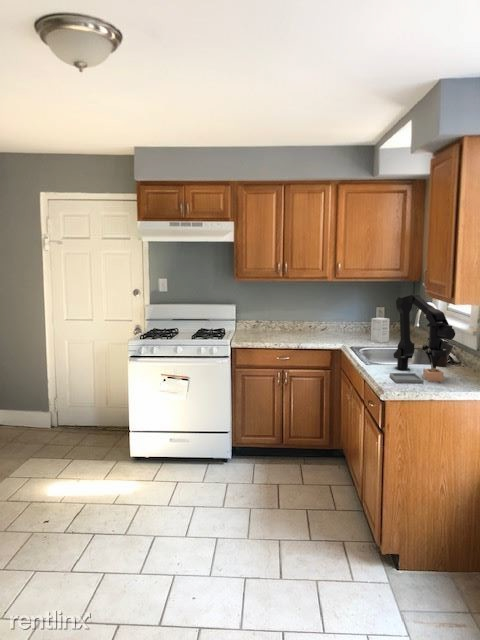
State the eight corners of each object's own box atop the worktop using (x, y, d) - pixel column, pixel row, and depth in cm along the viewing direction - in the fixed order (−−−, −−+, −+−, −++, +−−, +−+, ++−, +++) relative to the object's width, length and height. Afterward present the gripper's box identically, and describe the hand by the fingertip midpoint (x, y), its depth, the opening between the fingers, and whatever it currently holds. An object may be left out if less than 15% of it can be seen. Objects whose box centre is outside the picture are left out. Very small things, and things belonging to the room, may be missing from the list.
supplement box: (389, 341, 354) (390, 318, 352) (381, 343, 348) (382, 319, 346) (378, 339, 362) (378, 317, 359) (370, 341, 356) (371, 318, 354)
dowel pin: (429, 378, 249) (430, 360, 248) (434, 378, 249) (435, 361, 248) (431, 379, 247) (432, 362, 246) (436, 379, 247) (437, 362, 245)
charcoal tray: (389, 376, 253) (389, 372, 253) (415, 377, 253) (415, 373, 252) (396, 383, 240) (396, 379, 240) (423, 383, 240) (423, 379, 240)
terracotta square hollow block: (423, 377, 252) (423, 368, 251) (437, 377, 251) (438, 369, 251) (427, 381, 244) (428, 372, 244) (443, 381, 244) (443, 372, 244)
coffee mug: (443, 368, 272) (444, 350, 271) (429, 365, 279) (430, 348, 278) (454, 365, 279) (455, 348, 278) (441, 362, 286) (441, 345, 284)
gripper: (459, 340, 235) (457, 371, 238) (444, 333, 254) (443, 363, 256) (435, 339, 236) (433, 371, 238) (422, 333, 254) (421, 363, 256)
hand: (433, 367), depth 247 cm, fingers closed on dowel pin, 2 cm apart
